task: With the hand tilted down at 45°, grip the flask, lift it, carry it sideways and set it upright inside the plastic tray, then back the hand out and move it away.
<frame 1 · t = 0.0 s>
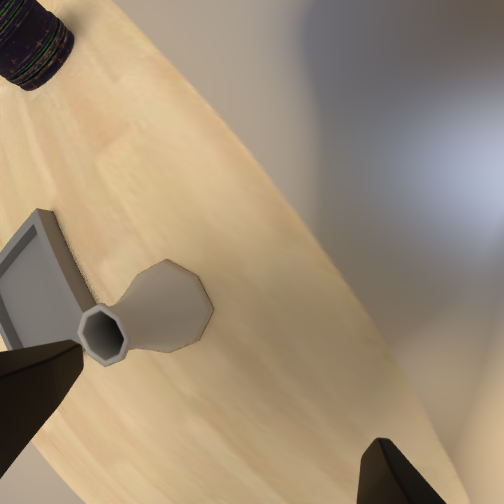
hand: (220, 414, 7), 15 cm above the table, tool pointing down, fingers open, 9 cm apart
tray: (41, 302, 25), on the table
flask: (168, 306, 24), on the table
storage jar: (46, 60, 26), on the table
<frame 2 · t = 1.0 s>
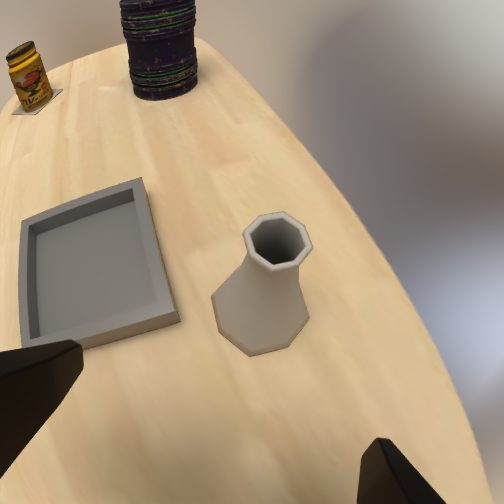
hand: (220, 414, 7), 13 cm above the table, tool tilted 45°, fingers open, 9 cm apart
tray: (91, 272, 23), on the table
condiment: (36, 103, 38), on the table
flask: (259, 309, 23), on the table
storage jar: (165, 85, 39), on the table
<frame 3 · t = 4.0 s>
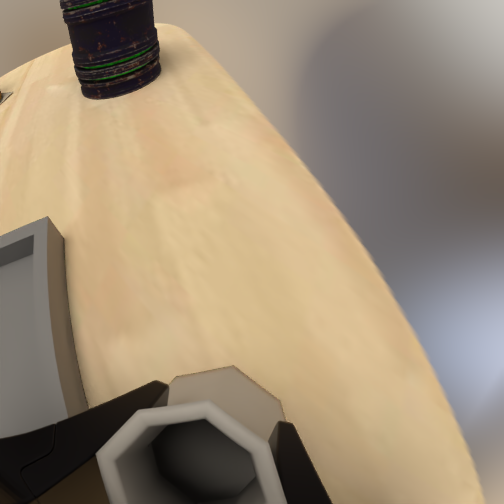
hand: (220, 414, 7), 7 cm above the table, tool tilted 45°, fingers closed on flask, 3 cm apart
flask: (216, 438, 12), on the table, touching gripper
storage jar: (121, 79, 28), on the table
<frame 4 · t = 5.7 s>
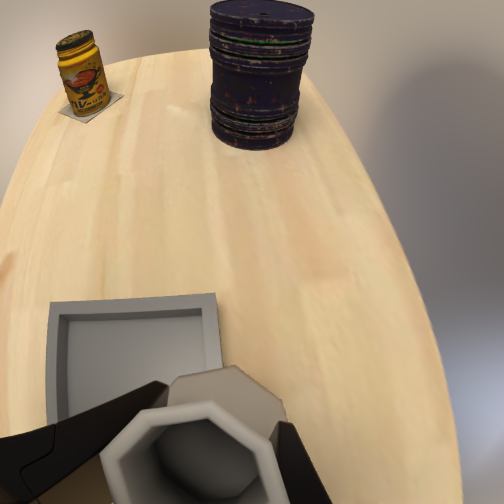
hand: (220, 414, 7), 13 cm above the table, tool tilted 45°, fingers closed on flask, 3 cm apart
tray: (136, 393, 19), on the table
condiment: (90, 105, 36), on the table
flask: (218, 437, 13), point 6 cm above the table, touching gripper
storage jar: (252, 125, 34), on the table
when the fingers open (8 cm above the table, at t = 7.5 s): flask stays where it is, resting on tray.
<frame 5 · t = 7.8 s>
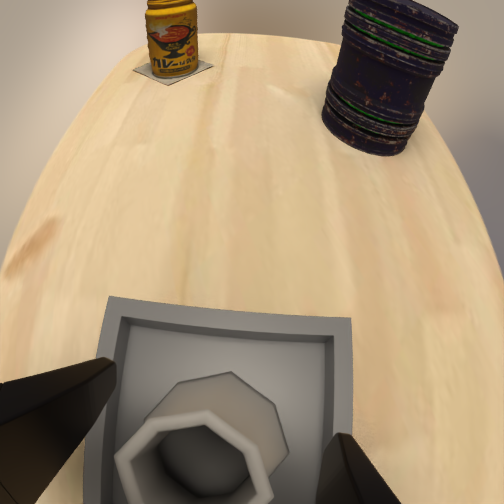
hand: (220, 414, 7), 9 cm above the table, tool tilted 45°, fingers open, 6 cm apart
tray: (218, 434, 14), on the table
condiment: (172, 69, 33), on the table
flask: (215, 438, 13), point 1 cm above the table, touching tray
storage jar: (364, 127, 29), on the table
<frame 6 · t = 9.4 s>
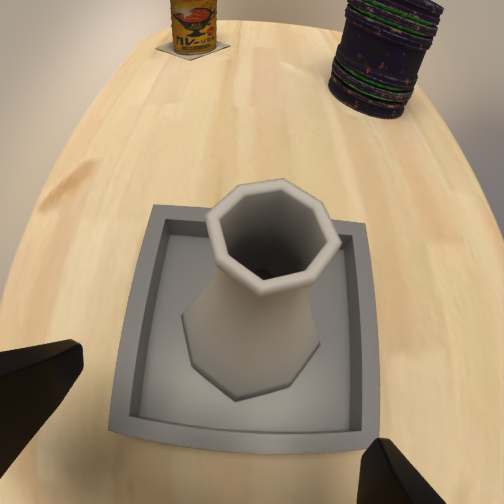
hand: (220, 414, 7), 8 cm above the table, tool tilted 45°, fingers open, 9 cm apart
tray: (251, 333, 17), on the table
condiment: (192, 48, 35), on the table
flask: (250, 333, 16), point 1 cm above the table, touching tray
storage jar: (366, 96, 31), on the table
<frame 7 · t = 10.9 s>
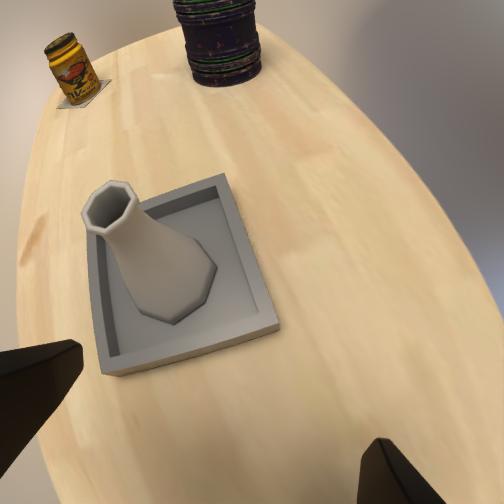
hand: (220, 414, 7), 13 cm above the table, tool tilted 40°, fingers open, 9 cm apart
tray: (173, 278, 24), on the table
condiment: (83, 95, 40), on the table
flask: (170, 278, 23), point 1 cm above the table, touching tray
storage jar: (227, 70, 37), on the table
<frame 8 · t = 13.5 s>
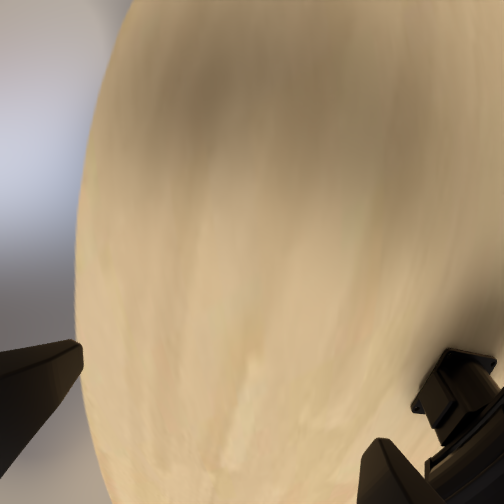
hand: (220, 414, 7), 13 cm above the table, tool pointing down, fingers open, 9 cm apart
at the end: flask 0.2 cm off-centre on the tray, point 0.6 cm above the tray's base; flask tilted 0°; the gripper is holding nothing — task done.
